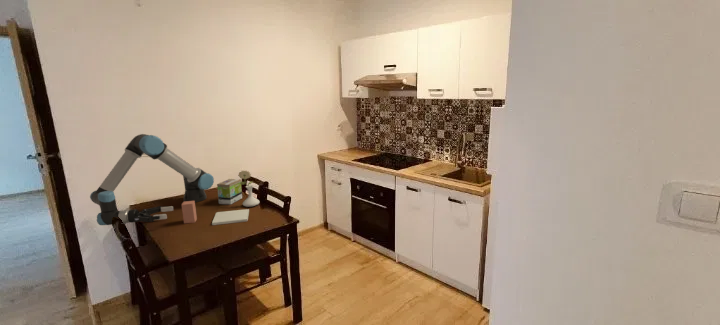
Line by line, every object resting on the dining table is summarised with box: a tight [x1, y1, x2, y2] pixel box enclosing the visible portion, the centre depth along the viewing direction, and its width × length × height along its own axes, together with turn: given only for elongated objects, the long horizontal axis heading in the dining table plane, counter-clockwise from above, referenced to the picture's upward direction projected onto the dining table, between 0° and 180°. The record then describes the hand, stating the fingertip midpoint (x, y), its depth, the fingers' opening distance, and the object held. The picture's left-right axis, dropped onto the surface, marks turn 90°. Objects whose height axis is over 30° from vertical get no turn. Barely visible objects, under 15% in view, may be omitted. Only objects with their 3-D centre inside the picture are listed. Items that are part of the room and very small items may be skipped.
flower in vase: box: [238, 170, 260, 208], centre depth 228 cm, size 13×11×25 cm
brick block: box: [181, 201, 198, 225], centre depth 203 cm, size 6×6×12 cm
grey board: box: [211, 208, 250, 226], centre depth 208 cm, size 18×20×2 cm
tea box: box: [216, 178, 243, 205], centre depth 238 cm, size 15×10×15 cm, turn 168°
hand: (169, 212), depth 200 cm, fingers open, 13 cm apart
